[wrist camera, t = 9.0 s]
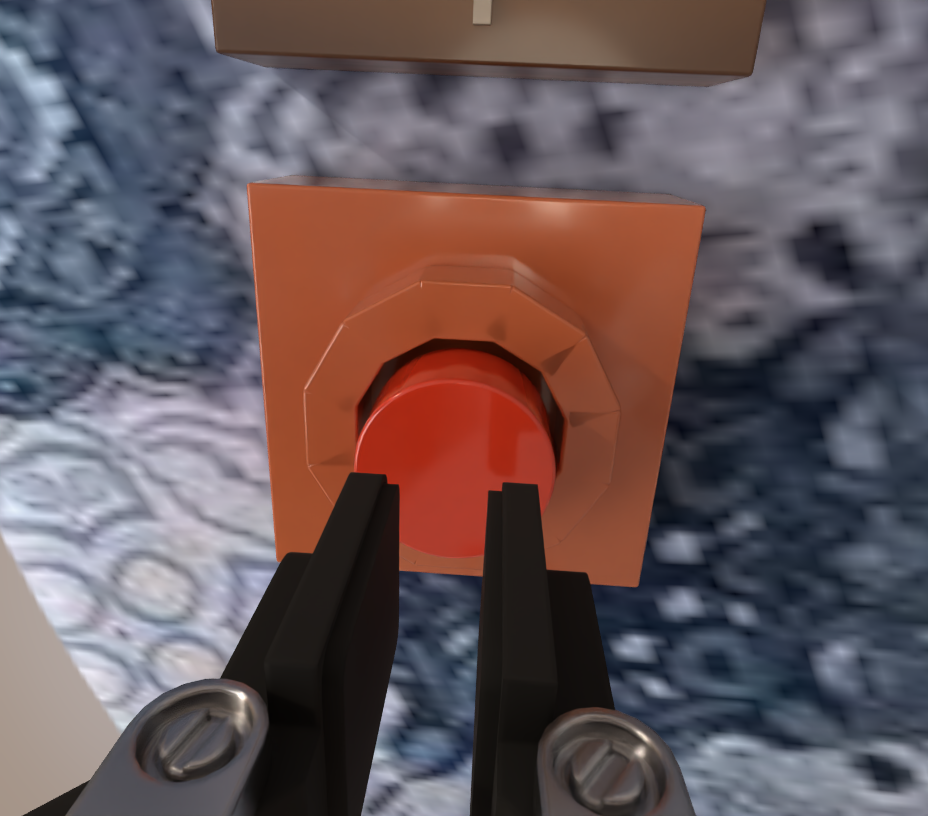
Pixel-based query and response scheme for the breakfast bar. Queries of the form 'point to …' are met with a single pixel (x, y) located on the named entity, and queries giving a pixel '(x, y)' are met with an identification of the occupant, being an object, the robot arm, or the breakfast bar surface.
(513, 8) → the base
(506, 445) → the red button
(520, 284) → the button base
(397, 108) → the breakfast bar surface
